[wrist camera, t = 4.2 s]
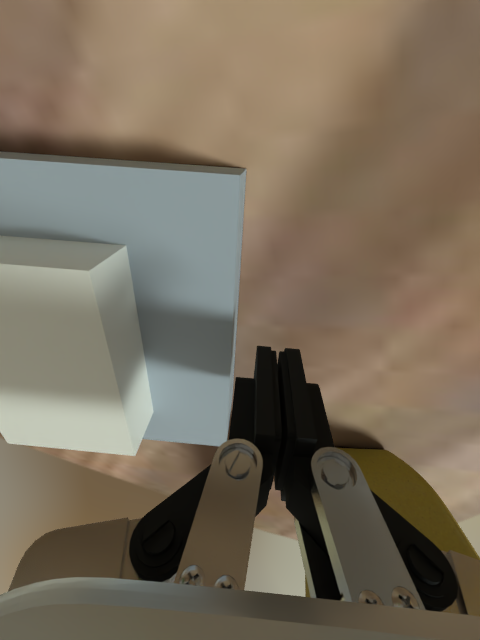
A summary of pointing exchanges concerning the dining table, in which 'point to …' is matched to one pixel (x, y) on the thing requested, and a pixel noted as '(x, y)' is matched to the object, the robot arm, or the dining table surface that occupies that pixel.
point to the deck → (152, 266)
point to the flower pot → (410, 499)
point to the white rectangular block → (70, 347)
